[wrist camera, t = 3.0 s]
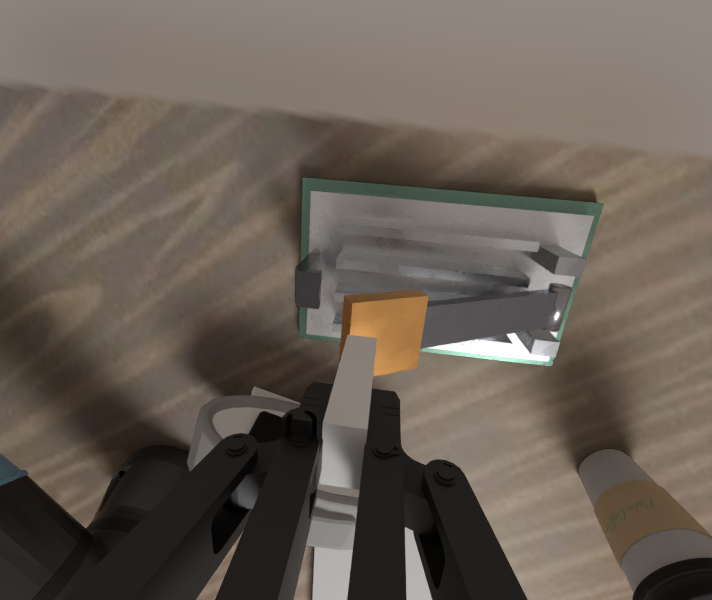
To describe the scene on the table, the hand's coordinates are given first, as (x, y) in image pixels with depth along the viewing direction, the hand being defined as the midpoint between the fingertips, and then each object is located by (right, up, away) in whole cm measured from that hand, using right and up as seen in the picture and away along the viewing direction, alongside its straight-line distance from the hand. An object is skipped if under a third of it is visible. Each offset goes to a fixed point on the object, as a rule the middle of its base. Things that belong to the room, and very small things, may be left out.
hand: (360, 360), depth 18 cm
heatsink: (+7, +6, +17) cm, 19 cm away
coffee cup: (+29, -16, +23) cm, 40 cm away
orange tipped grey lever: (+7, +2, +7) cm, 11 cm away
